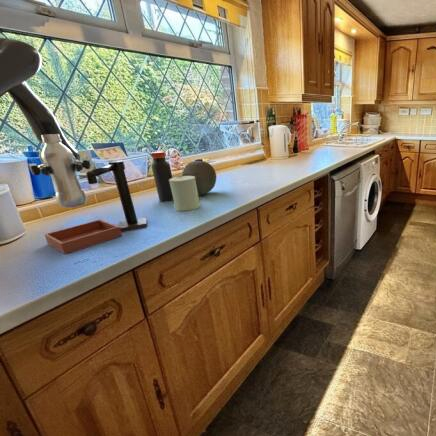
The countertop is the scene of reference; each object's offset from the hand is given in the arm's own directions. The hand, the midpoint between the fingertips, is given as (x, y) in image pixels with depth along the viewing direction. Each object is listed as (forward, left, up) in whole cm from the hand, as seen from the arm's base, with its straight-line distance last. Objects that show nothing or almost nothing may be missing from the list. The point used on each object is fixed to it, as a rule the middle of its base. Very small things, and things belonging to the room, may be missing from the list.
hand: (62, 169), depth 81 cm
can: (+30, +20, -22) cm, 42 cm away
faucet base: (+12, +8, -21) cm, 26 cm away
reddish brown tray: (0, +2, -21) cm, 22 cm away
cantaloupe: (+38, +37, -22) cm, 57 cm away
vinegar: (+24, +38, -22) cm, 49 cm away
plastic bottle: (-1, +2, -11) cm, 11 cm away
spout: (+9, +2, -4) cm, 10 cm away
